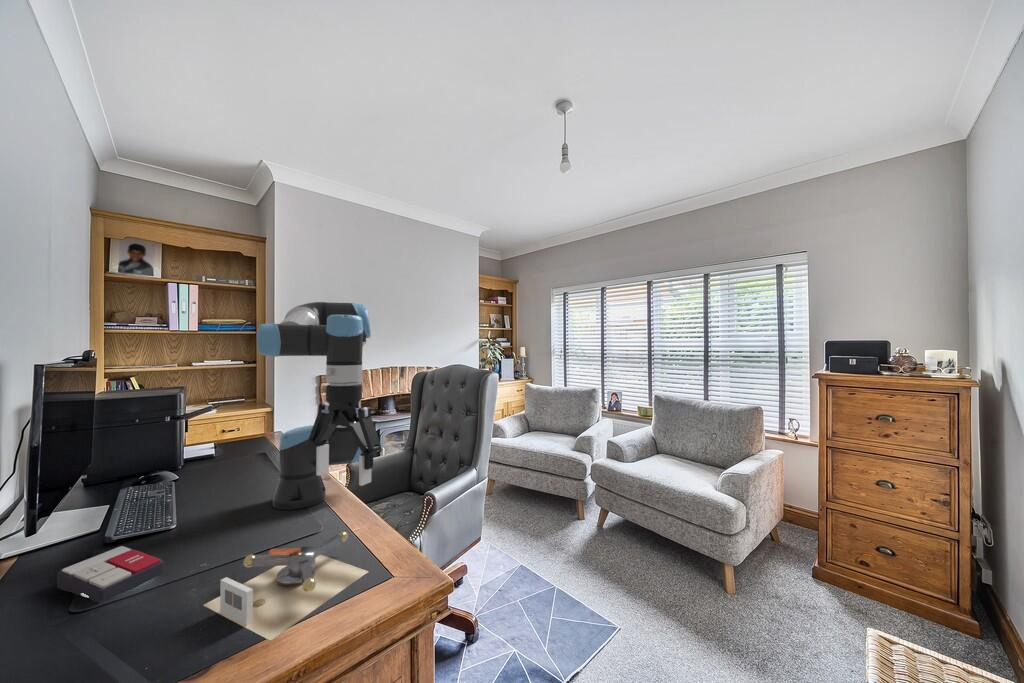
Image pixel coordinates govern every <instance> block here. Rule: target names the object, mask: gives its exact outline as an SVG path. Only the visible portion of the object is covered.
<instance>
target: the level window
mask: <svg viewBox="0 0 1024 683" xmlns="http://www.w3.org/2000/svg"><path fill="white" fill-rule="evenodd" d="M243 584H244V583H241V582H239V581H235V580H233V579H231V578H230V577H228V576H226V577H224V578H222V579H220V588H219V589H220V593H219V594H220V612H221V613H223V614H225V615H226V616H228V617H230V618H232V619H234V620H236V621H238V622H240V623H242V624H244V625H246V626H248V625H249V624H251V623H252V622H253V589H252V588H249V587H247V586H245V585H243Z"/></svg>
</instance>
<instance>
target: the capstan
mask: <svg viewBox="0 0 1024 683" xmlns="http://www.w3.org/2000/svg"><path fill="white" fill-rule="evenodd" d="M348 537H349V534H348V533H347V531H339V533H337V534H335V535H333V536H331V537H330V538H328V539H326V540H324V541H322V542H320V543H318V544H316V545H314V546H309V545H308V546H307V545H306V546H301V547H292V548H290V547H285V548H271V549H270V550H269V551H268V554H249V555H246V556H245V558H244V559H243V566H244V567H246V568H252V567H253V568H254V567H256V568H258V567H275V566H286V565H288V566H286V567H284V568H283V569H281V570H280V571H279V572H278V574H277V583H278V584H280V585H282V586H293V585H297V584H300V583H303V584H302V589H303V590H304V591H305V592H311V591H312V590H313V589H314V588H315V587H316V580H315V579H314V578H313V576H314V575H315V558H316V557H318V556H319V555H324V553H326V552H328V551H330V550H331V549H333V548H335V547H337V546H338V545H340V544H342V543H345V542H346V541H347V540H348Z"/></svg>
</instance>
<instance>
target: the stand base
mask: <svg viewBox="0 0 1024 683" xmlns="http://www.w3.org/2000/svg"><path fill="white" fill-rule="evenodd" d="M286 566H288V565H286ZM286 566H273V567H272V568H270V569H268V570H266V571H264V572H263V573H260V574H259V575H257V576H255V577H254V578H251V579H249V580H247V581H246V582H244V583H242V584H243V585H245V586H247V587H249V588H252V589H253V622H252V623H251V624H249V625H248V626H246V625H244V624H242V623H240V622H238V621H236V620H234V619H232V618H230V617H228V616H226V615H225V614H223V613H221V612H220V596H217V597H216V598H214V599H212V600H210V601H208V602H207V603H205V604H203V607H205V608H207V609H209V610H211V611H213V612H214V613H216V614H219V615H220V616H222V617H225V618H226V619H228V620H230V621H231V622H234V623H236V624H238V625H240V626H241V627H243V628H245V629H247V630H249V631H250V632H252V633H255V634H257V635H259V636H260V637H263V638H264V639H266V640H268V641H270V642H271V641H272V640H274V639H275V638H277V637H278V636H279V635H282V633H284V632H286V630H288V629H289V628H291V627H292V626H294V625H296V624H297V623H298V622H299V621H301V620H302V619H304V618H305V617H306V616H308V615H309V614H311V613H312V612H313V611H315V610H317V609H318V608H319V607H321V606H322V605H324V604H325V603H327V602H328V601H329V600H331V599H332V598H334V597H335V596H337V595H338V594H339V593H341V592H342V591H344V590H346V588H348V587H349V586H351V585H352V584H353V583H355V582H356V581H358V580H359V579H360V578H362V577H364V575H366V574H368V573H369V572H370V571H368V570H366V569H362V568H360V567H357V566H354V565H352V564H348V563H346V562H343V561H340V560H338V559H335V558H331V557H330V556H329V557H328V556H327V555H324V554H321V555H319V556H318V557H316V558H315V575H314V576H313V578H314V579H315V580H316V587H315V588H314V589H313V590H312V591H311V592H305V591H304V590H303V589H302V584H303V583H300V584H297V585H293V586H282V585H280V584H278V583H277V574H278V572H279V571H280V570H281V569H283V568H284V567H286Z"/></svg>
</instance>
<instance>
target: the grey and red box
mask: <svg viewBox="0 0 1024 683" xmlns="http://www.w3.org/2000/svg"><path fill="white" fill-rule="evenodd" d="M164 572H165V561H164V560H162V559H161V558H159V557H155V556H153V555H150V554H147V553H144V552H142V551H139V550H136V549H132V548H130V547H127V546H125V545H124V546H123V545H120V546H118V547H115V548H113V549H110V550H108V551H104V552H103V553H99V554H98V555H95V556H93V557H92V556H91V557H90V558H87V559H85V560H82V561H80V562H77V563H75V564H72V565H69V566H67V567H64V568H61V570H59V571H58V572H57V580H56V581H57V585H56V588H57V589H59V590H62V591H64V592H67V593H69V592H70V593H72V594H75V595H77V596H79V595H80V593H84V594H86V595H88V596H89V598H90V599H91V600H92V601H91V600H90V601H91V602H93V601H95V602H94V603H96V602H98V603H97V604H101V603H100V602H103V601H105V600H107V601H109V600H111V599H113V598H115V597H117V596H116V595H118V596H119V594H120V595H121V593H122V594H123V593H126V592H127V590H128V591H130V590H131V589H130V588H132V589H134V588H136V587H137V586H136V585H138V586H140V585H142V584H144V583H146V582H149V581H151V580H153V579H154V578H157V577H160V576H161V575H163V574H164ZM141 583H142V584H141ZM139 584H140V585H139ZM135 586H136V587H135ZM133 587H134V588H133ZM129 589H130V590H129ZM125 591H126V592H125ZM114 596H115V597H114ZM112 597H113V598H112ZM110 598H111V599H110ZM108 599H109V600H108ZM105 602H106V601H105ZM103 603H104V602H103Z"/></svg>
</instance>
